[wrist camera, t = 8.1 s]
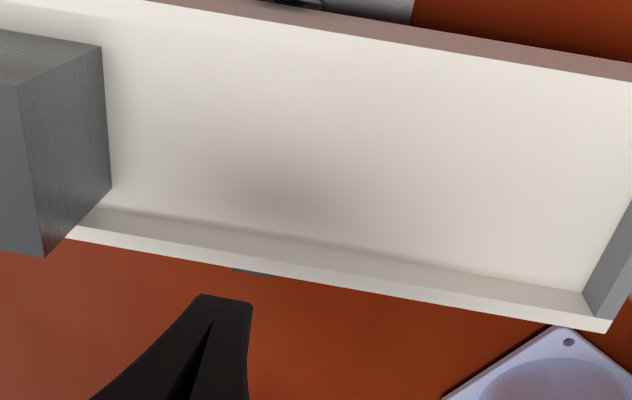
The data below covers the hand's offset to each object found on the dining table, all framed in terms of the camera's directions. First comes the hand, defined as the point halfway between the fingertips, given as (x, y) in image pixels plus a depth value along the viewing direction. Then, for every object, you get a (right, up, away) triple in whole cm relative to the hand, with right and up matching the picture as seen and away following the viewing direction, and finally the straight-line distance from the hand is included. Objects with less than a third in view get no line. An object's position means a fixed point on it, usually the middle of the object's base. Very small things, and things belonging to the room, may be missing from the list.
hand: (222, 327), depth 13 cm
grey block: (-7, +6, +3) cm, 10 cm away
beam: (-1, +6, +4) cm, 7 cm away
